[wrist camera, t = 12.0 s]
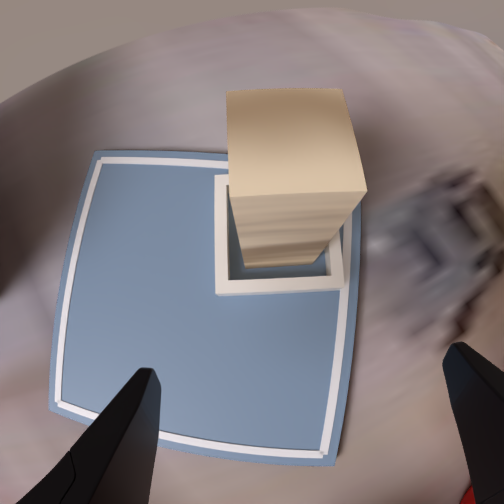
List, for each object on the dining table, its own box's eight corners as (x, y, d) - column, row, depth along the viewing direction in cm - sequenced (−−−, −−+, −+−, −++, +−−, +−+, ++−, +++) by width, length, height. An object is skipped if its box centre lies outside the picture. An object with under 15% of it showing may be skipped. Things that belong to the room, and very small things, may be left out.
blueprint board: (357, 175, 24) (360, 169, 23) (331, 461, 19) (334, 466, 18) (99, 156, 25) (94, 150, 24) (55, 408, 20) (48, 410, 19)
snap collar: (339, 290, 21) (344, 287, 20) (218, 296, 21) (215, 293, 20) (327, 180, 23) (331, 171, 22) (217, 184, 23) (214, 175, 22)
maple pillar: (311, 264, 22) (367, 191, 10) (245, 268, 22) (229, 197, 10) (304, 202, 23) (342, 89, 11) (241, 206, 23) (226, 91, 11)
